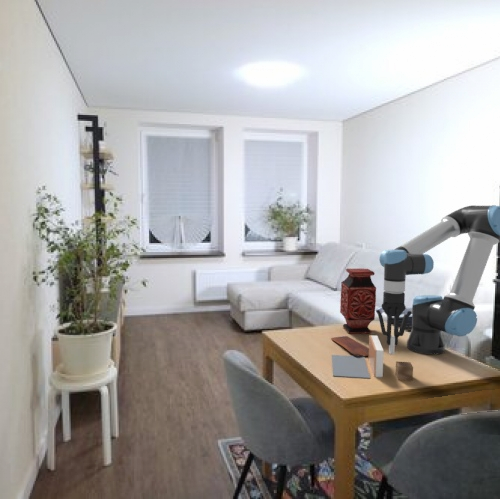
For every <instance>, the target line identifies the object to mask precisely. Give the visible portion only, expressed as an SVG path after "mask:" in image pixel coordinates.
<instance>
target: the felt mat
mask: <svg viewBox="0 0 500 499" xmlns="http://www.w3.org/2000/svg"><path fill="white" fill-rule="evenodd" d="M365 357H366V356H355V355H344V354H341V355H340V354H331V363H332V364H331V365H332V366H331V367H332V377H339V378H355V379H371V375H370V372H369V369H368V365H367V364H368V363H367V361H366V358H365Z"/></svg>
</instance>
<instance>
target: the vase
mask: <svg viewBox="0 0 500 499" xmlns="http://www.w3.org/2000/svg"><path fill="white" fill-rule="evenodd" d="M345 270H346V273H348V275H347V277H346V278H345V279H344V280H342V281H341V283H340V284H341V286H340V287H341V290H340V310H339V313H340V314H341V315H342V316H343V317H344V320H345V322H346V323H344V324H342V328H343V329H344V330H345V331H347V333H348V334H349V335H350V334H355V335H356V334H371V332H372V331H371V329H370V328H369V325H370V324H371V322H373V321H374V320H375V319H376V318H375V316H376V304H377V303H376V302H377V287H376V285H375V284H374V283H373V281H372V277H371V276H374V275H375V271H373V270H370V269H369V268H345Z"/></svg>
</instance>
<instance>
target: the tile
mask: <svg viewBox="0 0 500 499" xmlns="http://www.w3.org/2000/svg"><path fill="white" fill-rule="evenodd" d="M368 337H369V338H368V348H369V356H368V361H369V365H370V368H371V371H372V372H371V373H372V375H373V377H374V378H383V376H384V375H383V374H384V348H383V346H382V344H381V341H380V339H379V336H378V335H370V334H369V336H368Z"/></svg>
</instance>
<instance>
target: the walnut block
mask: <svg viewBox="0 0 500 499" xmlns="http://www.w3.org/2000/svg"><path fill="white" fill-rule="evenodd" d="M394 374H395V377H396V379H397V381H410V382H413V380H414V379H413V377H414V366H413V365H412V363H411V362H409V361H395V373H394Z"/></svg>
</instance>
